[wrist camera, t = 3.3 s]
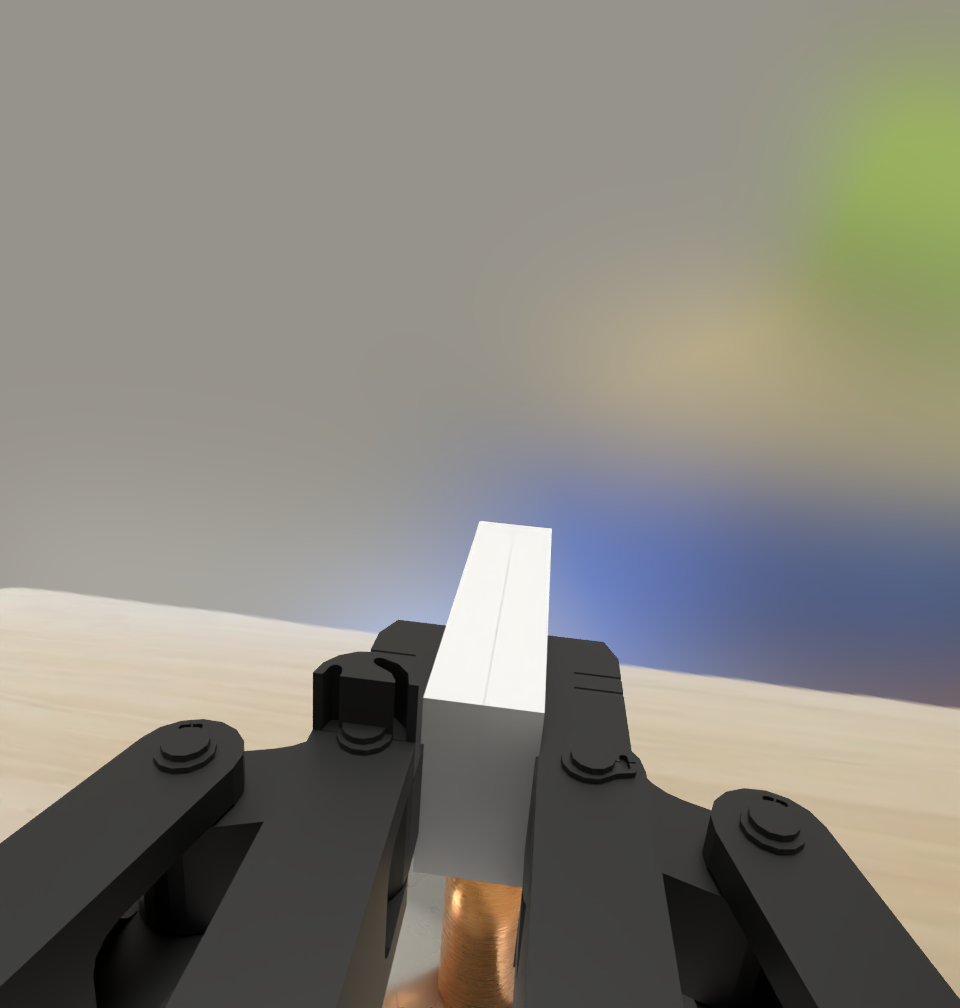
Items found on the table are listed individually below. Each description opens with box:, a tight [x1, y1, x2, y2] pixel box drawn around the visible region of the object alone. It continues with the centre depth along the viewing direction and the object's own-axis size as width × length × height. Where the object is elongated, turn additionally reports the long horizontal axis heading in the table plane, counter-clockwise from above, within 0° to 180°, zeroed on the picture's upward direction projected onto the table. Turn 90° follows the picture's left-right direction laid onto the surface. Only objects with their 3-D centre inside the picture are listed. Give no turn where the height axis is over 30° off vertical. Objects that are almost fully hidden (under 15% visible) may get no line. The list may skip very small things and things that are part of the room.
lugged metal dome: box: [382, 854, 522, 1008], centre depth 27 cm, size 21×19×15 cm
